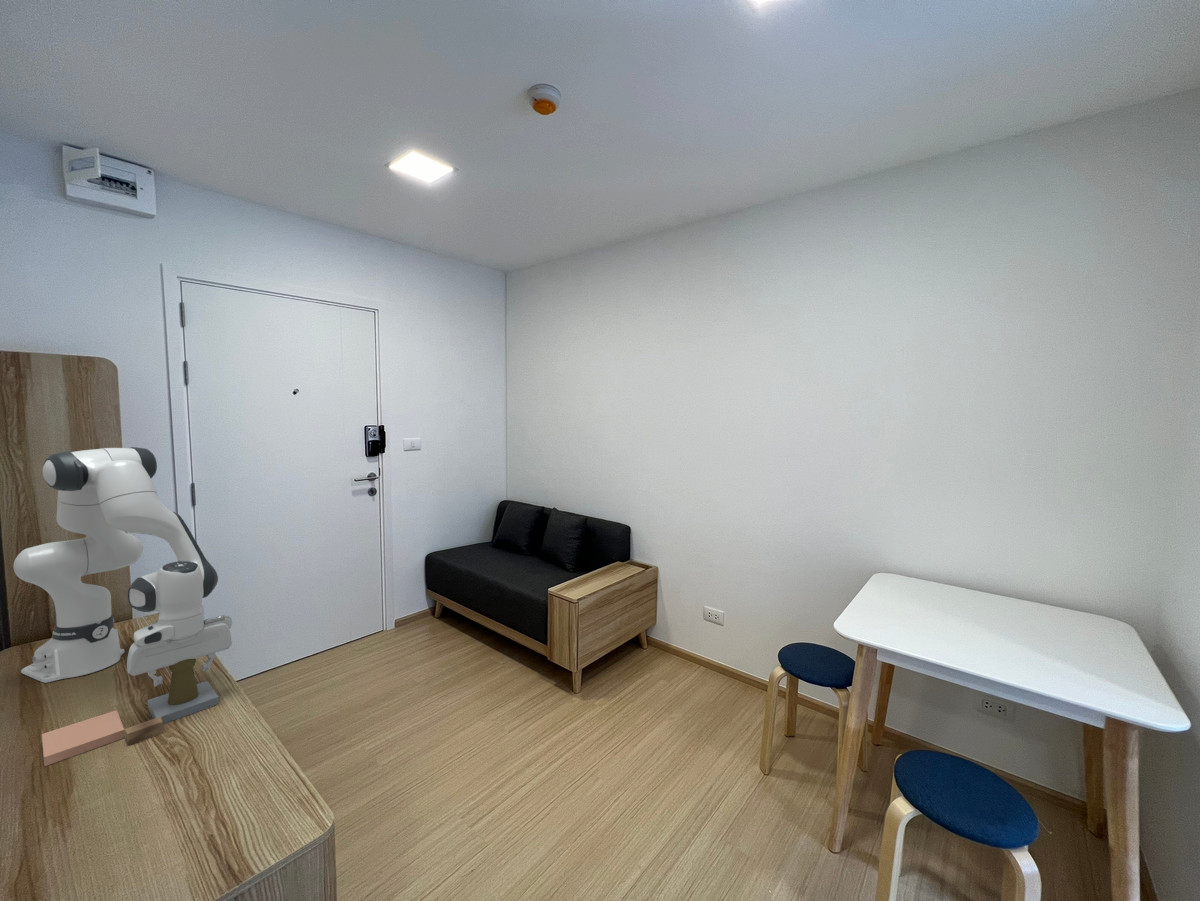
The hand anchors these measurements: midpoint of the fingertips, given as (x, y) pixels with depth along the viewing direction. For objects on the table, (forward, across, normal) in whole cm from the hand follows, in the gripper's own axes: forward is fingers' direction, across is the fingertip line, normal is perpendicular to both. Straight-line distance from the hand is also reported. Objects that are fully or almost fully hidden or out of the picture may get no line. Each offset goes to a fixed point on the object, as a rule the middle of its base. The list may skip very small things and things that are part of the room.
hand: (182, 677), depth 121 cm
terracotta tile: (+8, +18, 0) cm, 19 cm away
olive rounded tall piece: (+6, 0, 0) cm, 6 cm away
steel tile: (+8, 0, 0) cm, 8 cm away
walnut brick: (+8, +8, +9) cm, 15 cm away
